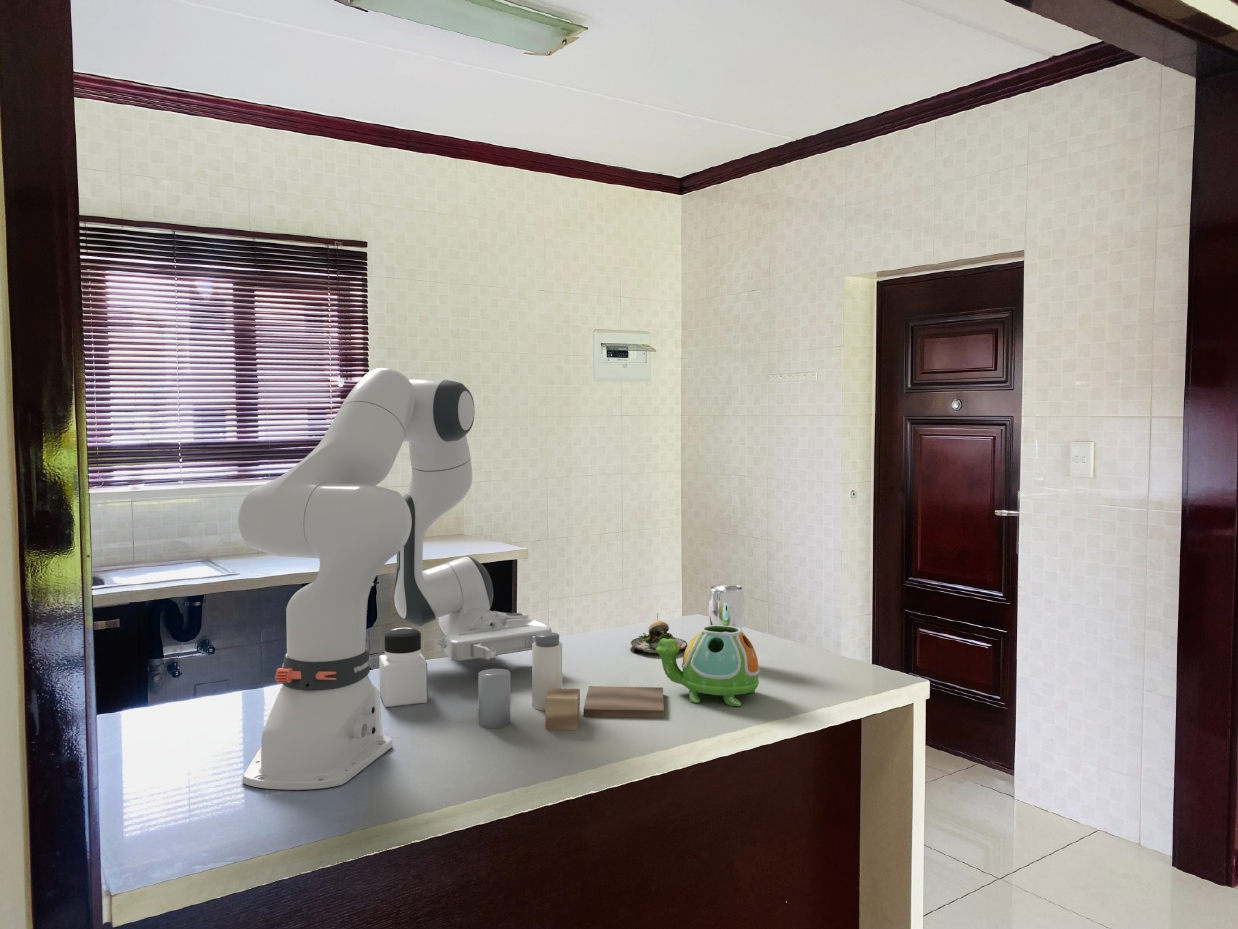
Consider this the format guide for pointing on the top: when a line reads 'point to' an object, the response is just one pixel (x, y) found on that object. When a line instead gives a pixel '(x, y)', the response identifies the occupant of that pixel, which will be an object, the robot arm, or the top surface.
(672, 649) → the turtle holder
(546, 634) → the plastic bottle
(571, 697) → the oak block
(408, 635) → the medicine bottle
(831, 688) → the top surface
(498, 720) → the grey cylinder
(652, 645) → the burger
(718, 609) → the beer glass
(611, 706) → the walnut board
